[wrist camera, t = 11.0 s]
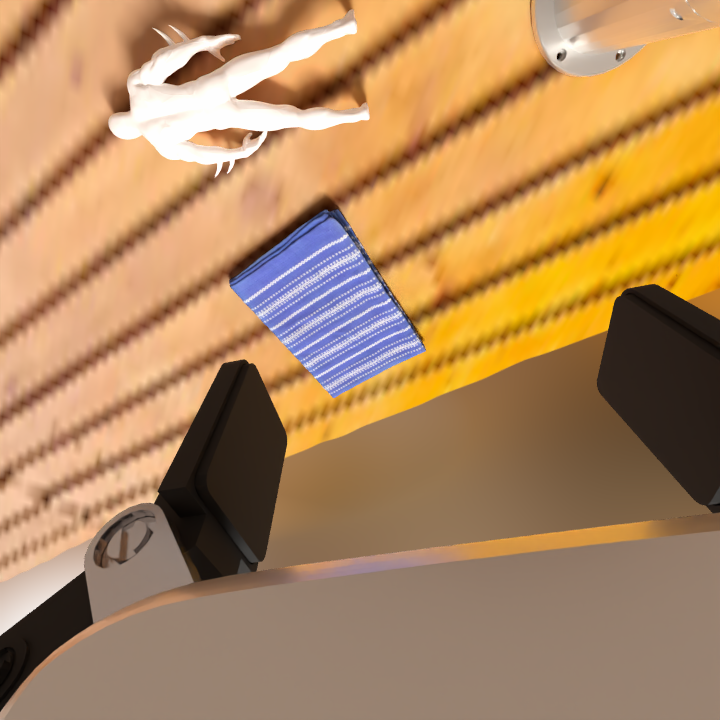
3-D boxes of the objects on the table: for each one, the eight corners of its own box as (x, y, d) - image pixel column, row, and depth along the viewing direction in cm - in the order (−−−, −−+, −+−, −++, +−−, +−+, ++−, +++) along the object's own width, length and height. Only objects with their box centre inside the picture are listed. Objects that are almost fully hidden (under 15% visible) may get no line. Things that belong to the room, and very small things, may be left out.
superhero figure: (351, -6, 32) (101, 63, 35) (347, -38, 27) (55, 46, 30) (373, 142, 38) (155, 191, 41) (374, 138, 33) (124, 195, 35)
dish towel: (333, 199, 41) (332, 204, 39) (427, 343, 53) (431, 354, 51) (226, 277, 47) (219, 286, 44) (333, 393, 58) (332, 405, 56)
